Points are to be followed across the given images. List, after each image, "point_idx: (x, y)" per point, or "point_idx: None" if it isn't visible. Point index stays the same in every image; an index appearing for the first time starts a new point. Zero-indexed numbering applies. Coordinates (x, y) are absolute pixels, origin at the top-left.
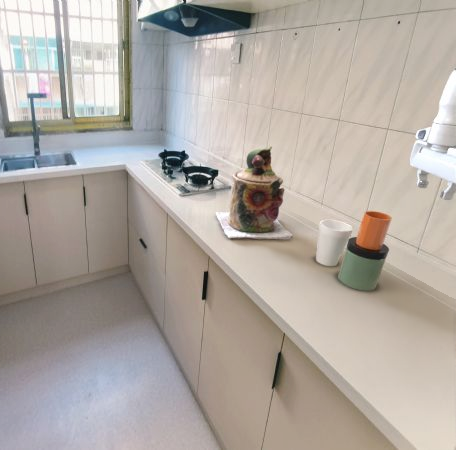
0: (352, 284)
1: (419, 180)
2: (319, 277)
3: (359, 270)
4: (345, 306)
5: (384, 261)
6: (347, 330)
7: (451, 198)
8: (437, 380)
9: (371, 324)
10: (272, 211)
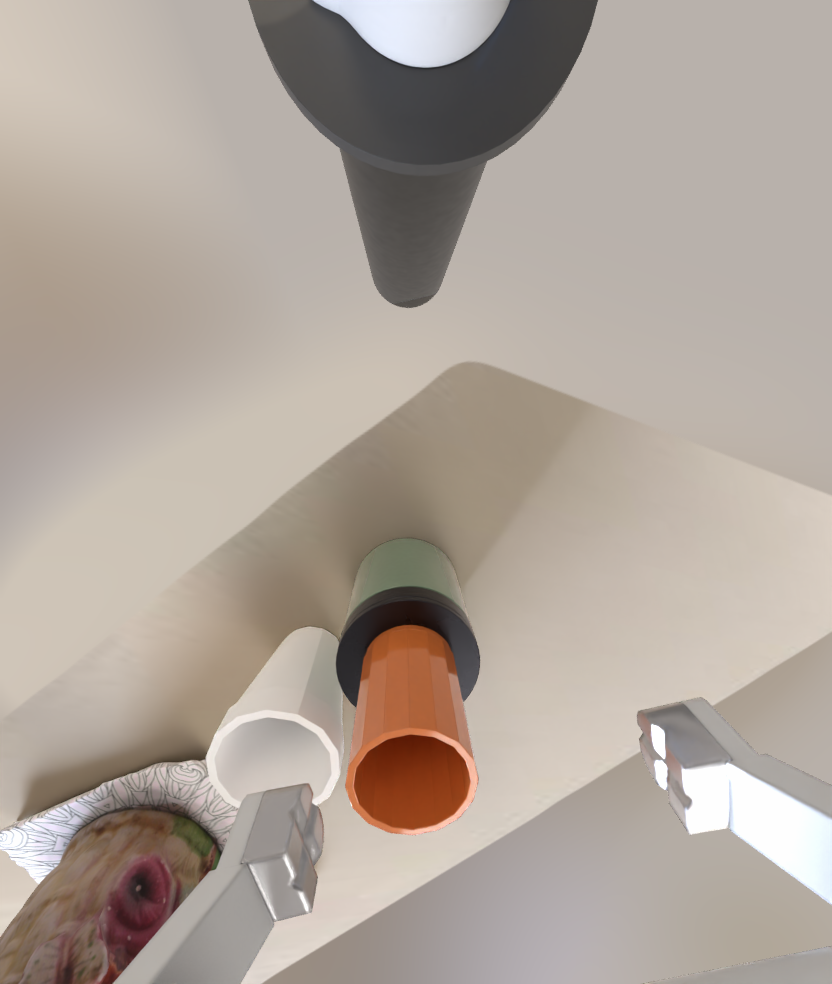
0: None
1: (267, 924)
2: None
3: None
4: (554, 629)
5: (440, 586)
6: (651, 636)
7: (709, 706)
8: (772, 496)
9: (613, 584)
10: (150, 915)
